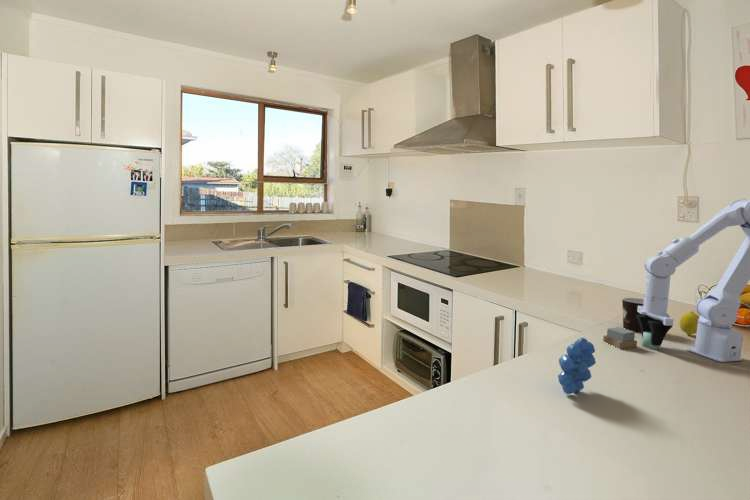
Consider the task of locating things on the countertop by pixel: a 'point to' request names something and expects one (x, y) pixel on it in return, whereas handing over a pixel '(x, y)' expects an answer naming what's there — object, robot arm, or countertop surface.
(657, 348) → the teal cylinder
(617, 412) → the countertop surface
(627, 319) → the coffee mug
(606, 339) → the walnut block
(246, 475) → the countertop surface
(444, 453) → the countertop surface
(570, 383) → the grapes
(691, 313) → the lemon
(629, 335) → the grey square slab
